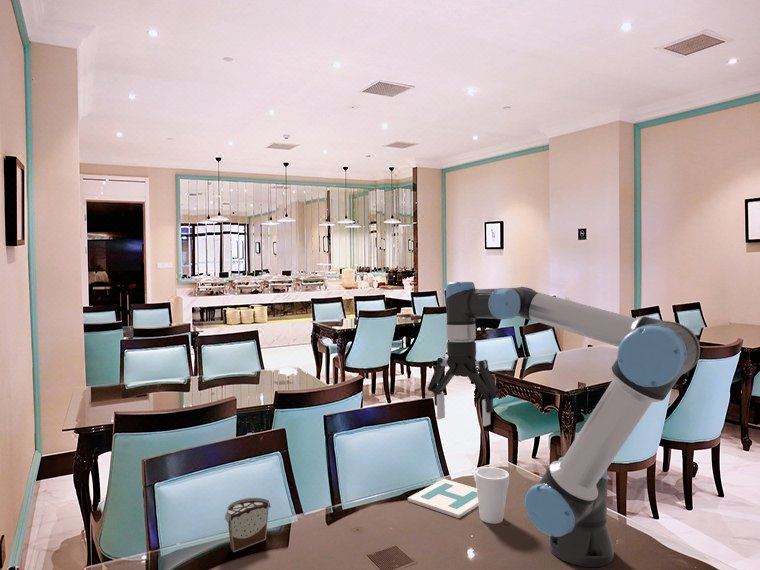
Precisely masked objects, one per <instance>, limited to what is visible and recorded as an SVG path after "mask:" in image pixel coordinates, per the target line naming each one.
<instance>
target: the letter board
mask: <svg viewBox="0 0 760 570" xmlns="http://www.w3.org/2000/svg"><path fill="white" fill-rule="evenodd" d="M407 502H410V503H413V504H416V505H419V506H420V507H421V506H422V507H424V508H428V509H430V510H432V511H433V510H434V511H436V512H439V513H442V514H444V515H445V514H446V515H448V516H450V517H454V518H457V519H461V518H462V517H463V516H465V515H467V513H470V512H471V511H472V510H474V509H476V508H477V507H479V505H478V496H477V488H476V487H474V486H470V485H468V484H467V485H466V484H463V483H461V482H460V483H459V482H458V481H457V482H456V481H453V480H449V479H447V478H443V479H441V480H439V481H437V482H435V483H433V484H430V485H429V486H427V487H425V488H424V489H422V490H419V492H418V491H417V492H415V493H414V494H412V495H410V496H409V497H407Z"/></svg>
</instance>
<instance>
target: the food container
mask: <svg viewBox="0 0 760 570" xmlns="http://www.w3.org/2000/svg"><path fill="white" fill-rule="evenodd" d="M271 507H272V506H271V503H270V500H269V499H267V498H262V497H248V498H242V499H238V500H235V501H234V502H231V503H230V504H229V505H228V506H227V509H226V510H225V516H224V520H225V521H226V522H227V526H228V535H229V536H228V537H229V544H230V550H231V552H233V553H236V552H239V551H241V550H243V549H246V548H249V547H251V546H253V545H255V544H256V545H257V544H258V543H261V542H263V541H266V539H267V529H268V520H269V510H270V508H271Z"/></svg>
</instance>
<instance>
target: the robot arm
mask: <svg viewBox="0 0 760 570" xmlns="http://www.w3.org/2000/svg"><path fill="white" fill-rule="evenodd" d="M445 288H446V289H445V290H446V291H445V308H446V340H448V341H447V343H446V350H447V351H446V353H447V358H446V357H445V356H442V357H438V358H437V359H436V366H435V369H434V372H433V374H432V377H431V379H430V381H429V383H428V386H427V391H428V392H431V393H433V395H434V399H433V400H434V406H436V419H437V420H442V419H445V418H446V411H445V410H446V409H445V408H446V407H445V392H444V393H443V391H444V390H445V388H446V387H447V386H448V384H449V383H450V382H451V380H452V379H453V378H454V377H460V376H461V377H463V378H464V377H465V378H468V379H470V380H471V382H472V383H473V384H474V385H475V387H476V389H477V390H478V391H479V392H480V394H481V395H482V397H483V398H484V399H482V400H481V406H482V409H481V411H482V426H483V427H487V426H489V425H491V413H493V411H494V399H497V398H499V397H500V396H501V393H500V391H499V389H498V387H497V384H496V383H495V381H494V377H493V375H492V374H491V372H490V369H489V365H488V360H487V359H483V360H477V358H476V356H477V343H476V341H475V339H476V336H477V335H476V334H477V333H476V332H477V331H476V319H489V320H490V319H491V320H492V319H495V320H509V319H511V320H512V319H514V318H516V317H519V318H523V319H526V320H528V321H529V320H530V321H533V322H537V323H540V324H543V325H545V326H546V325H547V326H549V327H552V328H556V329H559V330H563V331H565V332H568V333H572V334H576V335H579V336H582V337H585V338H589V339H592V340H595V341H598V342H602V343H603V344H607V345H611V346H614V347H617V348H618V349H617V352H616V353H617V354H616V360H615V361H614V362H613V365H612V366H611V367H610V372H611V375H612V378H613V379H612V381H611V382H610V383H609V385H608V387H607V388H606V390H605V391H604V393H603V395H602V396H601V398H600V400H599V401H598V403H597V404H596V405H595V407H594V409H593V410H592V412H591V414H590V415H589V417H588V418H587V420H586V421H585V422H584V425H583V426H582V427H581V429H580V430H579V432H578V434H577V436H576V437H575V439H574V440H573V442H572V443H571V445H570V446H569V448H568V450H567V452H566V453H565V454H564V456H561V457H559V458H558V460H554V461H552V462H551V463H550V464H549V466H548V467H547V469H546V471H545V473H544V474H543V475H542V477H541V478H540V480H539V482H538V483H536V484H534V485H532V486H531V487H530V488H529V489H528V491H527V492H526V495H525V498H524V507H525V508H524V509H525V510H526V512H527V513H526V514H527V516H528V518H529V520H530V521H531V523H532V524H533V526H534V527H535V528H536V529H537V530H539V531H540V532H541V533H543V534H544V535H547V536H549V538H548V541H549V543H548V545H549V546H548V547H549V550H550V552H551V553H552V554H553V555H554V557H556V558H558V559H559V560H562V561H564V562H566V563H569V564H571V565H574V566H575V565H576V566H579V567H587V568H599V567H605V566H607V565H609V564H611V563H612V562H613V560H614V551H615V549H614V544H613V541H612V539H611V535H610V532H609V528H608V526H607V516H608V515H607V514H608V513H607V512H608V481H609V477H608V468H609V466H611V463H612V462H613V461H614V459H615V458H616V456H617V455H618V454H619V452H620V451H621V449H622V447H623V446H624V445H625V443H626V442H627V440H628V438H629V437H630V436H631V434H632V433H633V431H634V430H635V428H636V426H637V425H638V424H639V423H640V421H641V420H642V418H643V416H644V415H645V414H646V412H647V411H648V409H649V408H650V406H651V405H652V403H656V402H662V401H665V398H667V396H668V395H669V393H671V390H672V389H673V387H674V386H675V385H676V383H677V382H678V380H679V379H680V378H681V377H682V375H684V374H686V373H688V372H690V371H691V370H692V369H693V368H694V367H695V366H696V365H697V364H698V362H699V359H700V356H701V347H700V346H701V345H700V341H699V339H698V338H697V336H696V334H695V333H694V332H693V331H692V330H691V329H690V328H689V327H688V326H685V325H684V324H681V323H679V322H674V321H668V320H663V319H658V318H653V317H649V316H645V315H643V316H640V317H639V318H636V317H632V316H628V315H624V314H621V313H617V312H613V311H609V310H606V309H602V308H597V307H594V306H590V305H587V304H583V303H579V302H576V301H572V300H568V299H565V298H560V297H558V296H557V297H556V296H552V295H549V294H546V293H542V292H538V291H536V290H535V289H533V288H532V287H527V286H526V287H525V286H518V287H503V288H502V287H499V288H498V287H497V288H476V285H475V283H474V282H473V281H450V282H448V283H447V284H446V286H445ZM446 366H448V370H447V371H446V373H445V374H444V376H443V377H442V375H443V372H444V371H445V368H446ZM476 368H477V369H479V372H480V374H481V376H480V374H479V372H478V371H477V369H476ZM441 377H442V378H441ZM481 377H482V378H483V379H482V378H481Z"/></svg>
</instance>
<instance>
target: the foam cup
mask: <svg viewBox="0 0 760 570" xmlns="http://www.w3.org/2000/svg"><path fill="white" fill-rule="evenodd" d="M474 481H475V488H477V496H478V505H479V506H478V512H479V519H480V520H481V521H482V522H483V523H484V522H485V523H487V524H499V523H502V522H503V519H504V515H505V508H506V502H507V495H508V489H509V488H508V487H509V484H510V473H509V472H508V471H507V470H505V469H502V468H500V467H493V466H483V467H482V466H481V467H478V468H477V469H476V470H475V471H474Z"/></svg>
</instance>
